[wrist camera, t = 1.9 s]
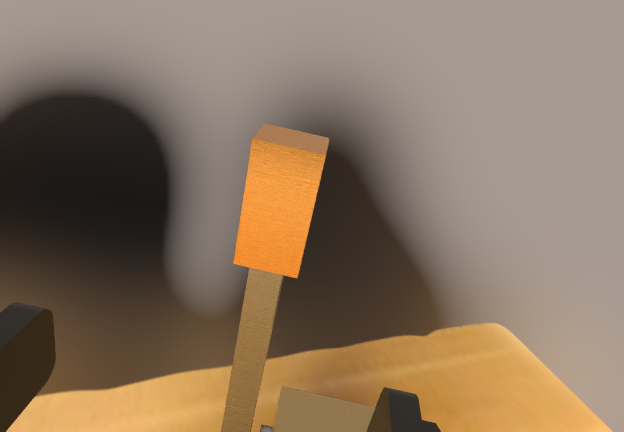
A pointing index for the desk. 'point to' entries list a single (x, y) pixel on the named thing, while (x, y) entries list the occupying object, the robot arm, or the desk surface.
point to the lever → (269, 250)
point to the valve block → (317, 413)
